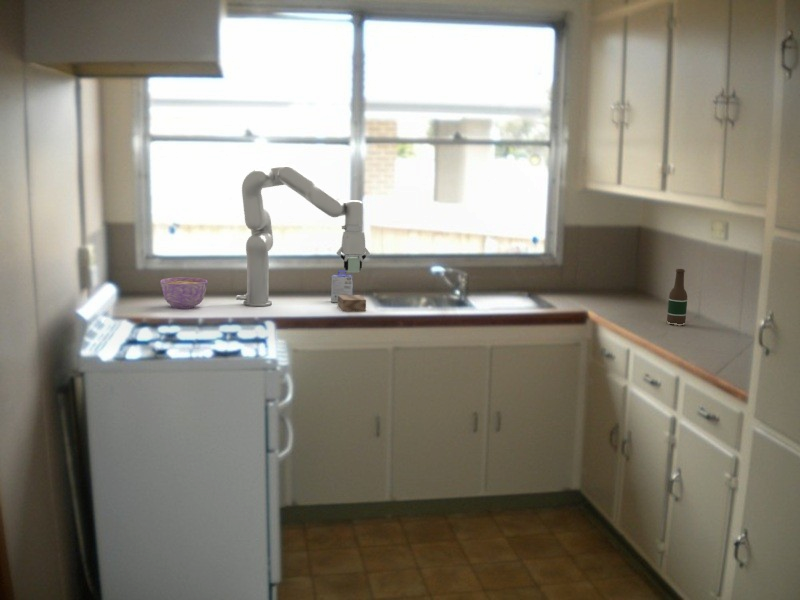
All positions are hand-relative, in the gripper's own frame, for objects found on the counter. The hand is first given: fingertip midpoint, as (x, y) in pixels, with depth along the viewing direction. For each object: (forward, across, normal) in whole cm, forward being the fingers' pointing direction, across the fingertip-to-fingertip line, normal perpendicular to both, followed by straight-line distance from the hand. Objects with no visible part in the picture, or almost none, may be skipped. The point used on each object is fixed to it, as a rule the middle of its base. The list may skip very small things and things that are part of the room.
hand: (352, 269), depth 397 cm
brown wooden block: (+18, 0, 0) cm, 18 cm away
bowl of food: (+17, -72, +9) cm, 75 cm away
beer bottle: (+19, +133, -46) cm, 142 cm away
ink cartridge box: (+18, -1, +19) cm, 26 cm away
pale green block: (+1, 0, 0) cm, 1 cm away
